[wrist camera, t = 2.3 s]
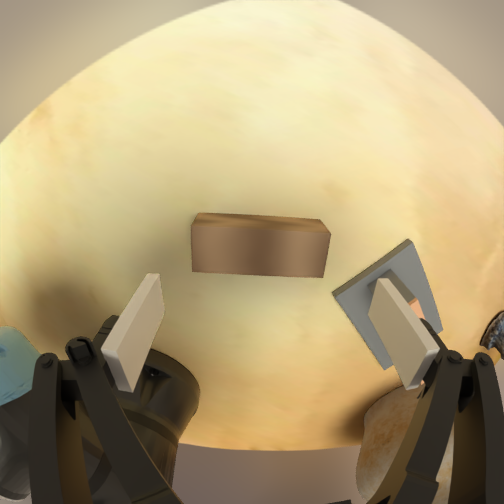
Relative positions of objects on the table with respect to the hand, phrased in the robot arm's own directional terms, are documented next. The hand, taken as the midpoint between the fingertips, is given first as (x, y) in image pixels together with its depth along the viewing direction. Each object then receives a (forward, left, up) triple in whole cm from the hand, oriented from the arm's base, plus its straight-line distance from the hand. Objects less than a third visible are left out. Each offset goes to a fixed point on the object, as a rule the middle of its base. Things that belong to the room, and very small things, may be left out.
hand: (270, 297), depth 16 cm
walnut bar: (0, 0, -11) cm, 11 cm away
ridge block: (+13, -14, -10) cm, 22 cm away
